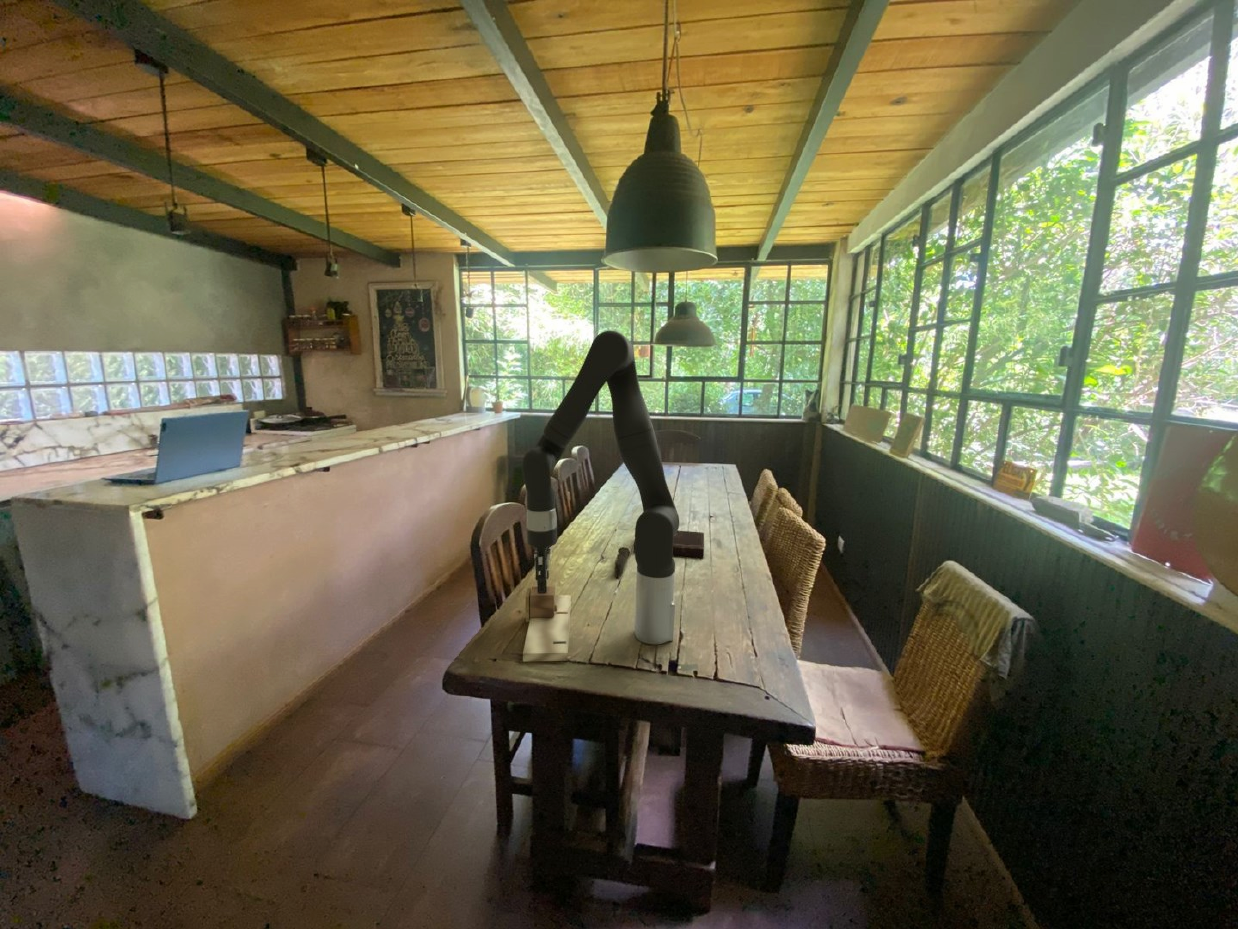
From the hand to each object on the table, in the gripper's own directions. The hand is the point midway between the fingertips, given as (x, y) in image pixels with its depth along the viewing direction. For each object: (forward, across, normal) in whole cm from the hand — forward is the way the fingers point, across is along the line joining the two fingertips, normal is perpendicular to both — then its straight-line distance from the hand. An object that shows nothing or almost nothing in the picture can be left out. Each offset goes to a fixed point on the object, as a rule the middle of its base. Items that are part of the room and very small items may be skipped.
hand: (543, 585), depth 123 cm
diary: (+11, +52, -43) cm, 69 cm away
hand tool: (+10, +34, -24) cm, 43 cm away
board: (+10, -4, -2) cm, 11 cm away
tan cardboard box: (+9, 0, +1) cm, 9 cm away
